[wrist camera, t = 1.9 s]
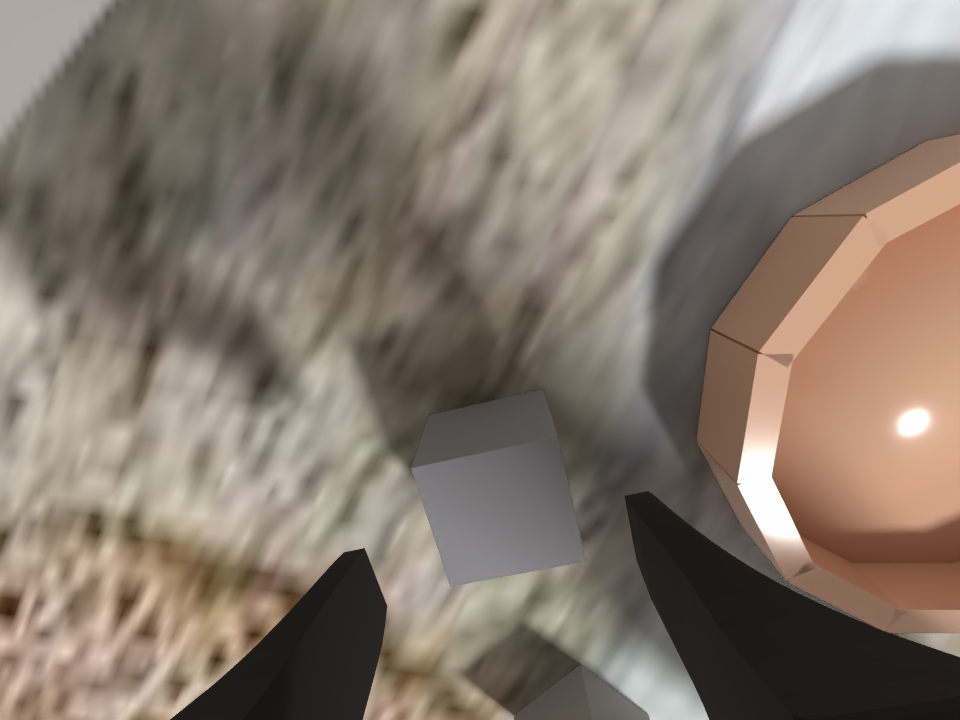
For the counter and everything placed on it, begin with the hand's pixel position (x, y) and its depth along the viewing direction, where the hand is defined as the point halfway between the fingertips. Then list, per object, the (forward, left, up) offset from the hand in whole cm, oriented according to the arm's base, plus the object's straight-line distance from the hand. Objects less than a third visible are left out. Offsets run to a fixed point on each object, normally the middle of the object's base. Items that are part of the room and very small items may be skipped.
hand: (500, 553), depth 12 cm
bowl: (-12, -10, -6) cm, 17 cm away
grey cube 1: (0, 0, -6) cm, 6 cm away
